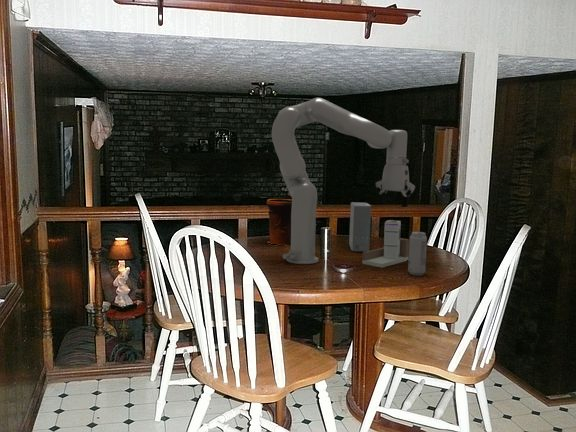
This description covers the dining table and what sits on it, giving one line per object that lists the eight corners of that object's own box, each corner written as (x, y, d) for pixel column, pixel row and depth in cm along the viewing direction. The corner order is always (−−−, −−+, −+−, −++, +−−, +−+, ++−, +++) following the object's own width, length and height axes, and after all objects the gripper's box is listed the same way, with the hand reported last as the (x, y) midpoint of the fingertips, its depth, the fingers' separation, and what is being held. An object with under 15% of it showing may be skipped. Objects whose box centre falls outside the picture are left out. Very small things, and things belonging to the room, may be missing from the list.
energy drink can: (411, 271, 203) (413, 230, 201) (427, 273, 200) (429, 232, 198) (405, 274, 198) (407, 232, 196) (421, 276, 195) (423, 234, 193)
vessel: (264, 239, 260) (266, 197, 258) (294, 240, 262) (296, 198, 259) (265, 245, 246) (267, 201, 244) (297, 246, 247) (299, 202, 245)
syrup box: (398, 259, 216) (399, 222, 214) (383, 257, 218) (384, 221, 216) (399, 256, 222) (401, 220, 220) (385, 255, 223) (386, 219, 221)
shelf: (382, 267, 208) (383, 245, 206) (362, 263, 214) (363, 242, 212) (408, 260, 221) (409, 239, 220) (388, 256, 227) (389, 236, 226)
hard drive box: (369, 252, 236) (371, 206, 234) (351, 251, 237) (353, 205, 234) (365, 245, 252) (367, 202, 249) (348, 245, 252) (350, 201, 249)
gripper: (420, 162, 212) (418, 207, 214) (382, 160, 223) (380, 202, 225) (410, 163, 206) (408, 208, 208) (372, 161, 218) (370, 204, 220)
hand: (393, 205), depth 217 cm, fingers open, 9 cm apart
